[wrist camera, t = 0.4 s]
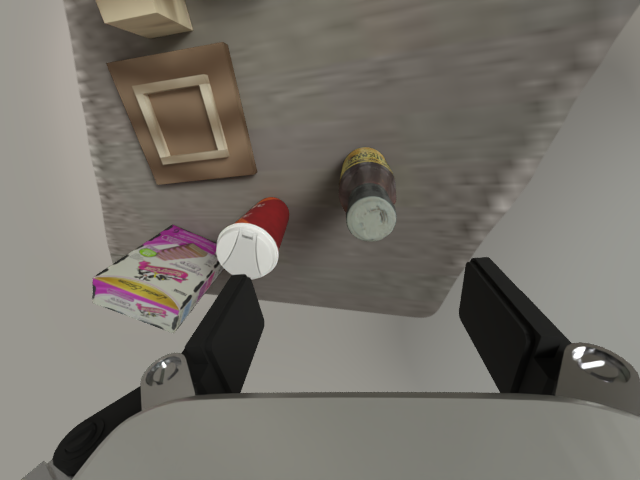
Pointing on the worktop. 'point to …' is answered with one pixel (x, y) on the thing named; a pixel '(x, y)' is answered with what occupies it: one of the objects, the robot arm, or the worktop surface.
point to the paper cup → (254, 239)
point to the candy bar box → (160, 278)
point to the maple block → (146, 16)
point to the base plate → (186, 113)
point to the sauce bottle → (368, 194)
